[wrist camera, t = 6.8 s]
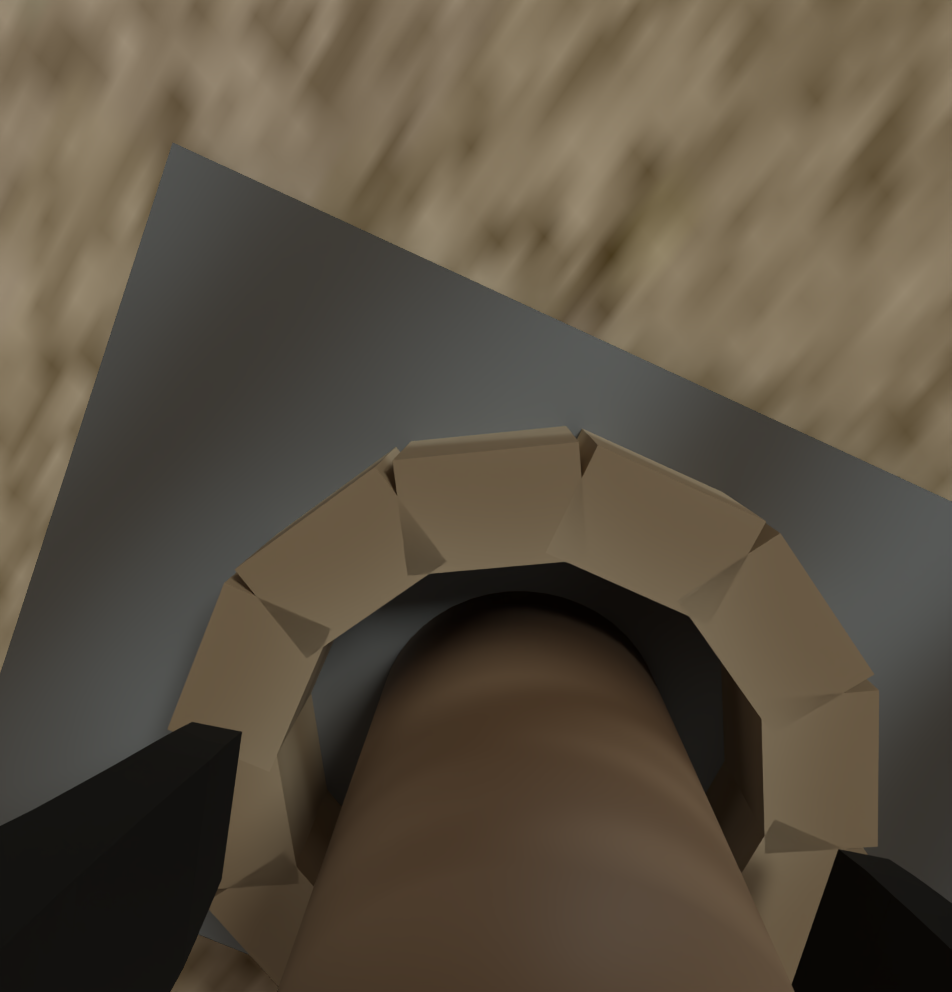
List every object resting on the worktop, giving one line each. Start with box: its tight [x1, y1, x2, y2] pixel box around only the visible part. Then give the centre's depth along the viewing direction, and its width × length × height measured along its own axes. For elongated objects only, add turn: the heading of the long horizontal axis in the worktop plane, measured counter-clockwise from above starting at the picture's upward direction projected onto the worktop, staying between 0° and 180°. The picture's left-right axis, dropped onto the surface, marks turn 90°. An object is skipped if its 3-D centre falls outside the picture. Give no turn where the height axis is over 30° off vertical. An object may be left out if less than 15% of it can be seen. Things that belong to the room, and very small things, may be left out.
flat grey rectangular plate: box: [0, 143, 952, 987], centre depth 11 cm, size 16×12×2 cm
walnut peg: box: [277, 591, 794, 992], centre depth 9 cm, size 4×4×6 cm
